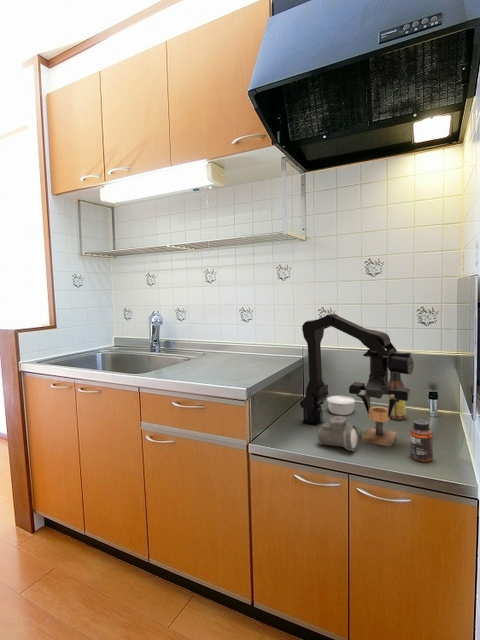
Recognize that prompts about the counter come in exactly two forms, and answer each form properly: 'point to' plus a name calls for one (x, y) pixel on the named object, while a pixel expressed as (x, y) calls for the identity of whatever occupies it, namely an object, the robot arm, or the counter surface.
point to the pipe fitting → (338, 434)
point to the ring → (378, 414)
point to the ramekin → (341, 405)
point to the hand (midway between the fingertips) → (379, 415)
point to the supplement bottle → (421, 441)
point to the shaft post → (379, 435)
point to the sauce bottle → (400, 407)
